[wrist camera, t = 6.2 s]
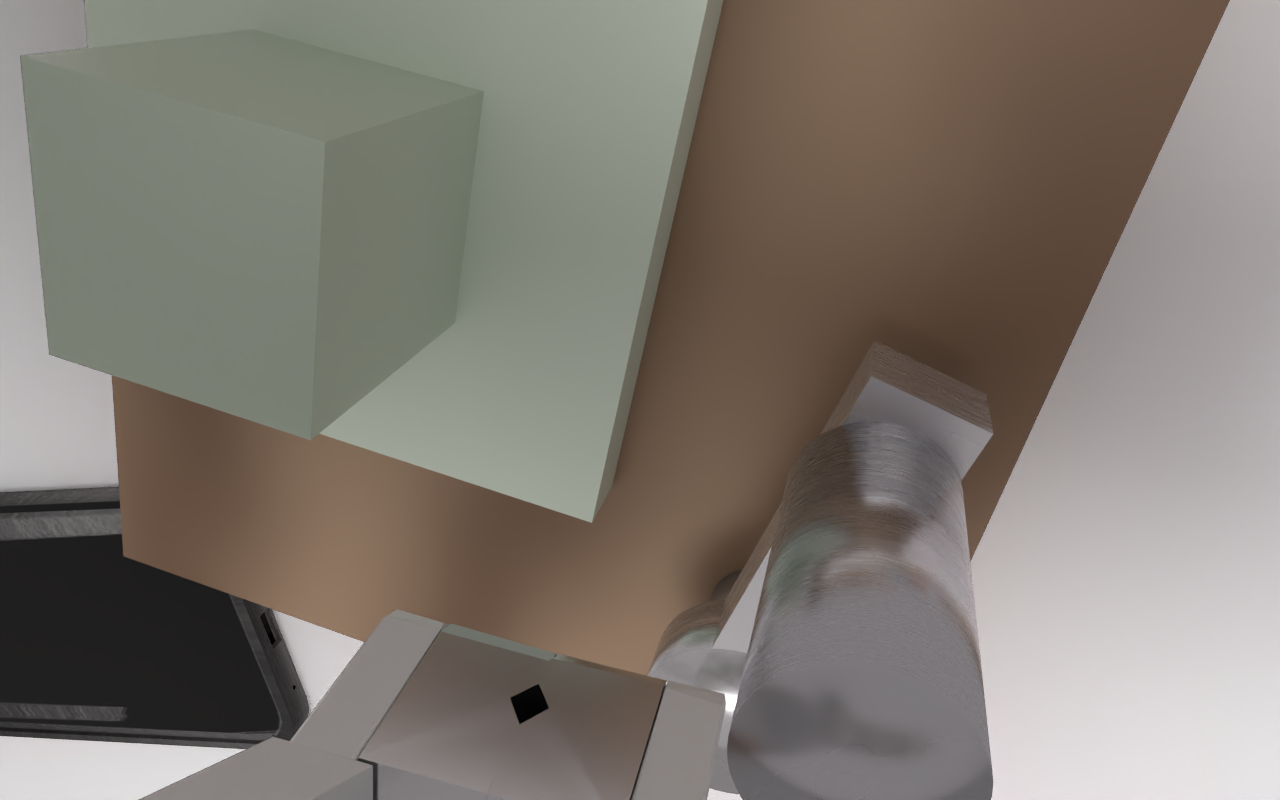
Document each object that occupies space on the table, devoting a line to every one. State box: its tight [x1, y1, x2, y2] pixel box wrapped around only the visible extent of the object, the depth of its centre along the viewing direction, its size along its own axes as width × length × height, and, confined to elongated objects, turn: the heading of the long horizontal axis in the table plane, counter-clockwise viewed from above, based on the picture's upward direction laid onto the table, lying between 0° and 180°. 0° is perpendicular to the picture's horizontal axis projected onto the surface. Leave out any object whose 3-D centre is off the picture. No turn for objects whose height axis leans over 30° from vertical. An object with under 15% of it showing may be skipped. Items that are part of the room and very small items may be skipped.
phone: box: [0, 487, 309, 749], centre depth 26 cm, size 8×1×15 cm
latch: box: [647, 341, 993, 800], centre depth 12 cm, size 7×3×6 cm, turn 158°
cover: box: [20, 0, 723, 523], centre depth 13 cm, size 9×9×5 cm
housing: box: [112, 0, 1230, 676], centre depth 15 cm, size 16×20×4 cm
